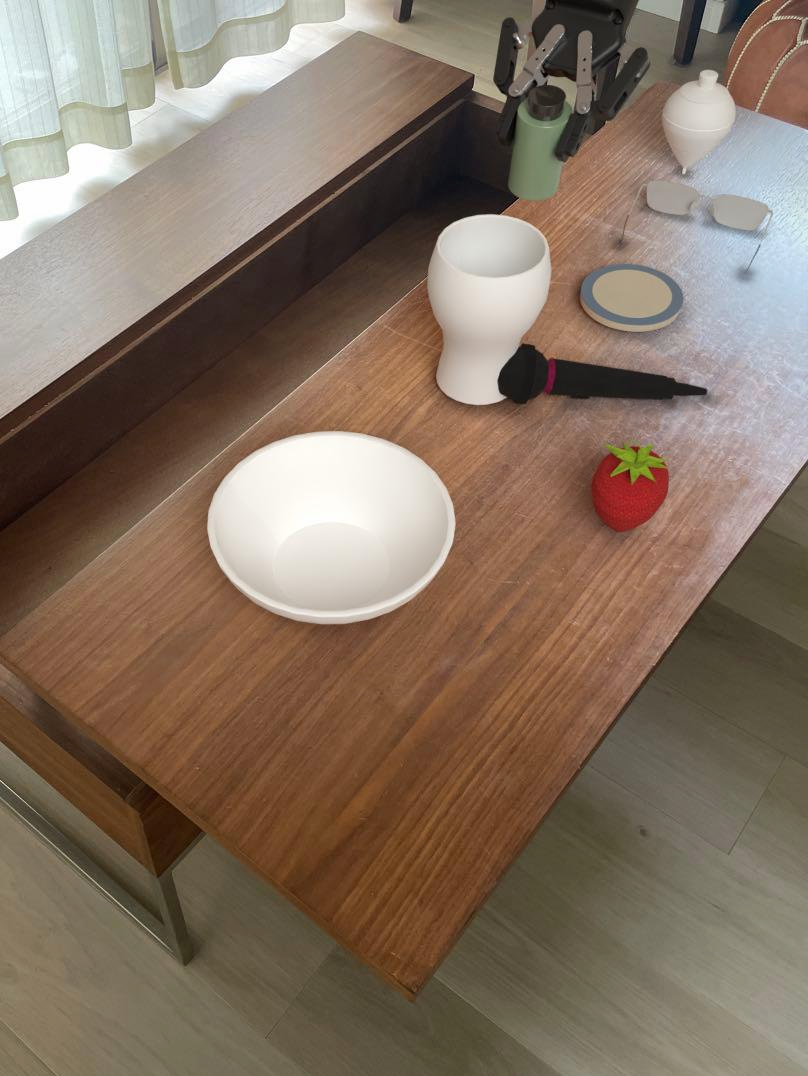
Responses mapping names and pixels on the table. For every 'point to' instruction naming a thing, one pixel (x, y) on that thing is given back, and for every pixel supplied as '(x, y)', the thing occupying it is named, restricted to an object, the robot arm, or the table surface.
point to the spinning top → (698, 118)
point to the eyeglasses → (724, 207)
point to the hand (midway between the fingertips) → (532, 150)
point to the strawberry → (629, 486)
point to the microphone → (581, 380)
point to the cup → (485, 299)
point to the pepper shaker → (538, 143)
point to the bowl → (331, 526)
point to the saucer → (631, 297)
